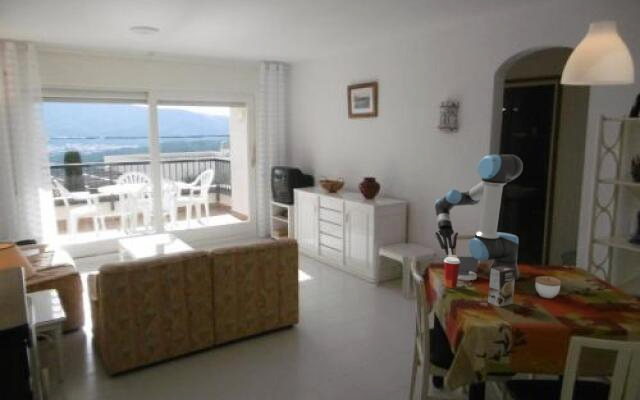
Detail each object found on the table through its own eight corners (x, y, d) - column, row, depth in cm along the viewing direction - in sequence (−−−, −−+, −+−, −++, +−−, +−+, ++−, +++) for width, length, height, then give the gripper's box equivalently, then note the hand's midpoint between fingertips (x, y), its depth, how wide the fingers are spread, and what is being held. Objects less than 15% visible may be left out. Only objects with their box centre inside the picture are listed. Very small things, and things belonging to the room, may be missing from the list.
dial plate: (480, 276, 239) (481, 272, 239) (470, 282, 228) (470, 279, 228) (455, 270, 248) (456, 267, 248) (444, 276, 237) (444, 273, 237)
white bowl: (536, 290, 219) (538, 271, 218) (561, 295, 213) (562, 275, 212) (531, 296, 210) (533, 277, 209) (557, 301, 204) (559, 282, 203)
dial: (474, 271, 241) (475, 254, 239) (478, 275, 235) (479, 257, 233) (448, 271, 241) (449, 254, 239) (451, 274, 235) (452, 257, 233)
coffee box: (499, 307, 197) (501, 271, 195) (487, 302, 203) (490, 267, 200) (513, 303, 201) (516, 269, 199) (501, 298, 207) (504, 265, 204)
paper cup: (457, 284, 226) (458, 257, 224) (460, 289, 219) (462, 261, 216) (441, 283, 227) (442, 256, 225) (443, 288, 219) (445, 260, 217)
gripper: (454, 226, 260) (461, 263, 246) (431, 226, 260) (437, 262, 246) (457, 219, 254) (464, 256, 240) (434, 219, 254) (440, 256, 240)
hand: (450, 259), depth 243 cm, fingers closed
